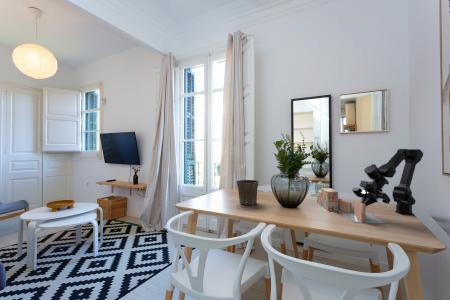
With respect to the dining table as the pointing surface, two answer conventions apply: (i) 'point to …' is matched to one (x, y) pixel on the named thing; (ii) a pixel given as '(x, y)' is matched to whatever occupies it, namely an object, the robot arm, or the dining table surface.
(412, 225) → the dining table surface
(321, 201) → the stack of blocks
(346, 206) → the fixed fence section
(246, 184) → the plant pot
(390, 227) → the dining table surface
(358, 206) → the fence panel
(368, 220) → the board
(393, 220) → the dining table surface
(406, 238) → the dining table surface
